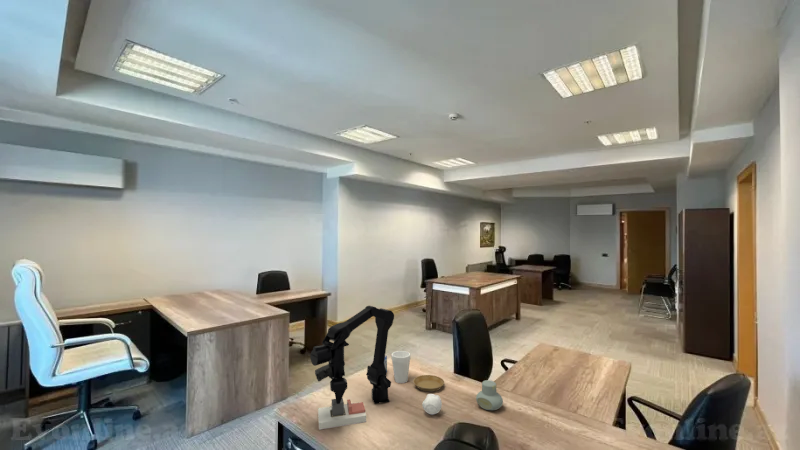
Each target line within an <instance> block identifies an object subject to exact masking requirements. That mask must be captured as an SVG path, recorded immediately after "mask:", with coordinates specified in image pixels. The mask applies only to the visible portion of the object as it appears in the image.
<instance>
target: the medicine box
mask: <svg viewBox="0 0 800 450" xmlns="http://www.w3.org/2000/svg"><path fill="white" fill-rule="evenodd" d="M384 365H385V368H386V373H387V372H388V356H387V355H386V354H385V360H384Z"/></svg>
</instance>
